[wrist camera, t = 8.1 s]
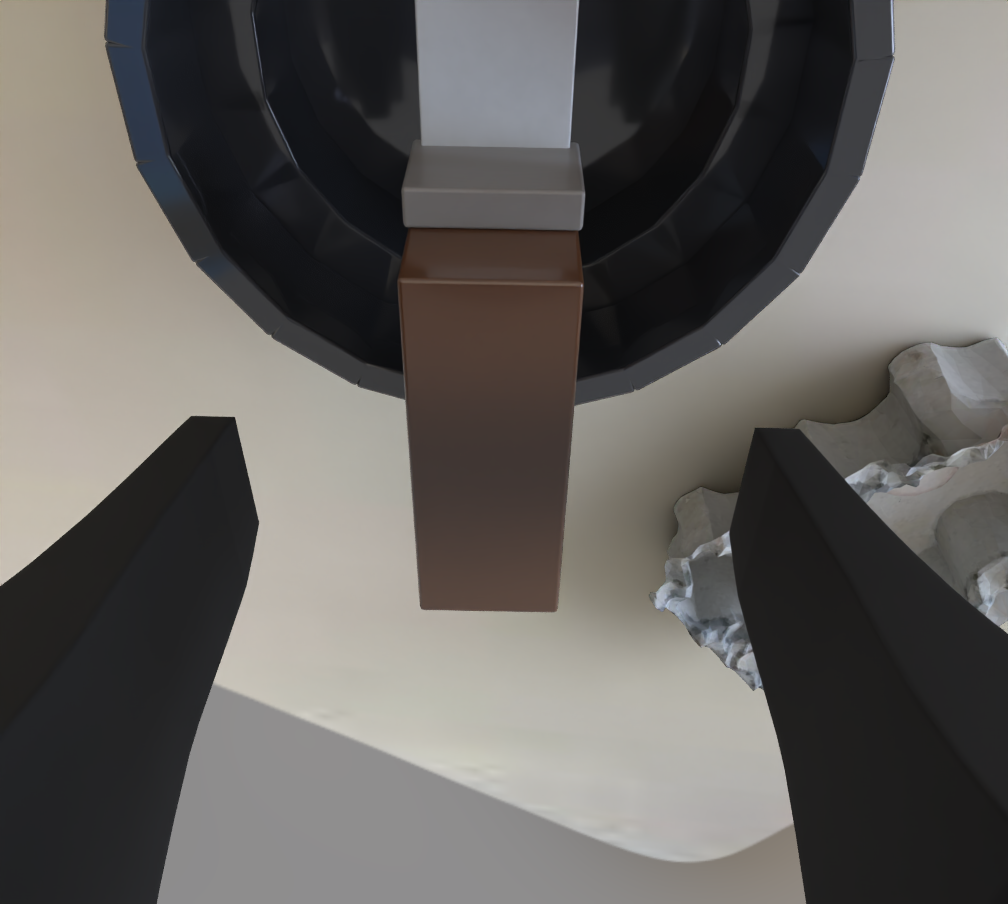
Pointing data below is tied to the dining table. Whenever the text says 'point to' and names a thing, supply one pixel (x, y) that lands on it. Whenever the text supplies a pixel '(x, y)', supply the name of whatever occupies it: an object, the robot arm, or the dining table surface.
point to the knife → (492, 300)
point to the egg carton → (880, 493)
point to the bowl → (595, 127)
